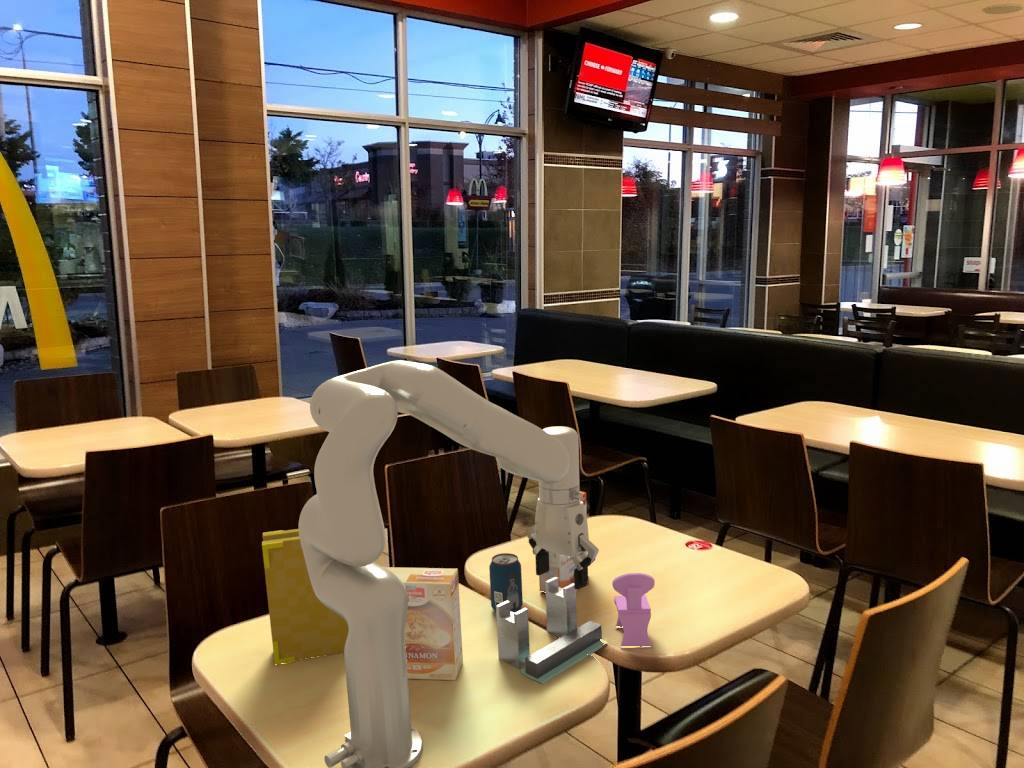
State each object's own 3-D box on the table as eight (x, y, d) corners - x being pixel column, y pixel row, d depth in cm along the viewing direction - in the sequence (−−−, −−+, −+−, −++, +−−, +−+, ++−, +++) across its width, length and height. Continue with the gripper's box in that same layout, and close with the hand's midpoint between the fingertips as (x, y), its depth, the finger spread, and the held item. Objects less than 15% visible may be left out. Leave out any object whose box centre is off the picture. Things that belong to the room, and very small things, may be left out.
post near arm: (519, 668, 152) (516, 614, 150) (498, 658, 156) (496, 605, 154) (530, 662, 154) (527, 608, 152) (509, 652, 158) (507, 600, 156)
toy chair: (649, 625, 166) (649, 557, 163) (657, 647, 157) (656, 576, 155) (609, 627, 166) (608, 559, 163) (615, 649, 157) (613, 577, 155)
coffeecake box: (378, 678, 150) (370, 581, 147) (389, 658, 157) (381, 565, 154) (456, 681, 148) (450, 583, 145) (463, 661, 155) (458, 566, 152)
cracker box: (561, 598, 180) (559, 509, 176) (538, 593, 183) (535, 505, 179) (589, 574, 192) (587, 491, 188) (567, 570, 195) (564, 487, 191)
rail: (537, 678, 147) (536, 663, 146) (525, 673, 149) (524, 658, 149) (601, 639, 160) (601, 625, 160) (590, 634, 162) (589, 620, 162)
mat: (542, 684, 146) (542, 681, 146) (520, 673, 150) (520, 670, 150) (607, 643, 159) (607, 641, 159) (585, 634, 163) (585, 632, 163)
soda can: (502, 600, 180) (499, 549, 178) (528, 606, 177) (526, 555, 175) (485, 613, 175) (482, 561, 172) (512, 619, 171) (510, 567, 169)
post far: (567, 640, 162) (566, 589, 160) (547, 631, 165) (545, 581, 163) (577, 634, 164) (575, 584, 162) (556, 626, 168) (555, 576, 166)
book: (274, 665, 157) (261, 544, 152) (275, 649, 163) (262, 532, 158) (362, 650, 161) (352, 532, 156) (359, 635, 167) (349, 521, 163)
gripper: (608, 497, 145) (610, 586, 148) (539, 480, 157) (541, 562, 160) (582, 508, 140) (584, 600, 143) (512, 489, 152) (515, 574, 155)
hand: (561, 580), depth 152 cm, fingers open, 9 cm apart
